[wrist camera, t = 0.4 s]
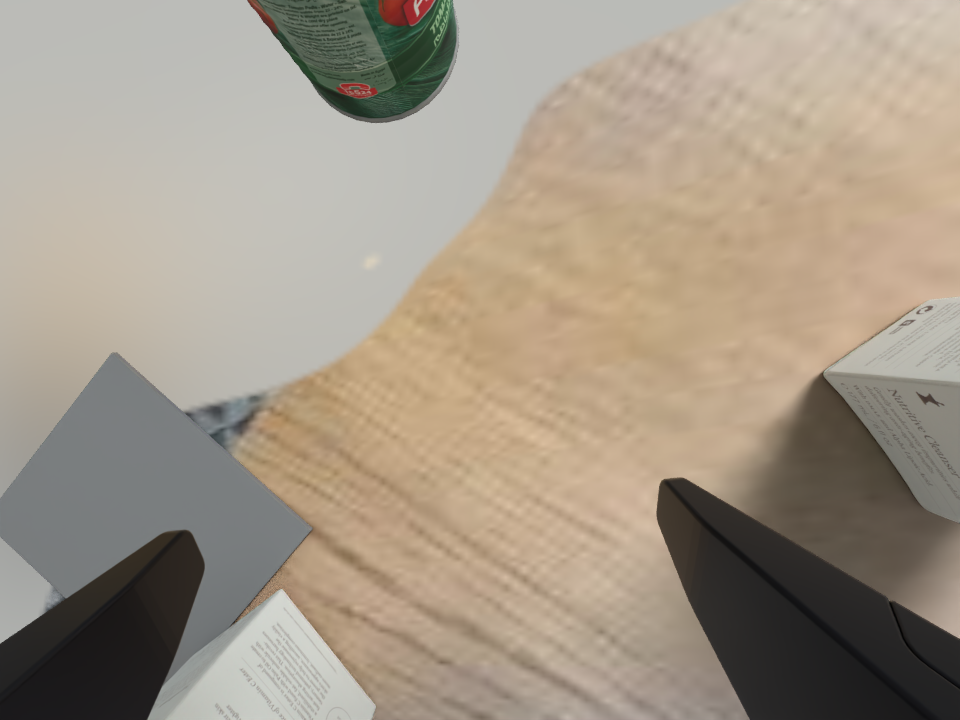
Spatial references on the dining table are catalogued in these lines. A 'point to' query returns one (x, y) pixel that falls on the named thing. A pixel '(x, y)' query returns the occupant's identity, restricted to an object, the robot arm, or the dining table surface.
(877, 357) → the skincare box
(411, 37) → the canned tomato
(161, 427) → the mat
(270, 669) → the small box
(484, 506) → the dining table surface
